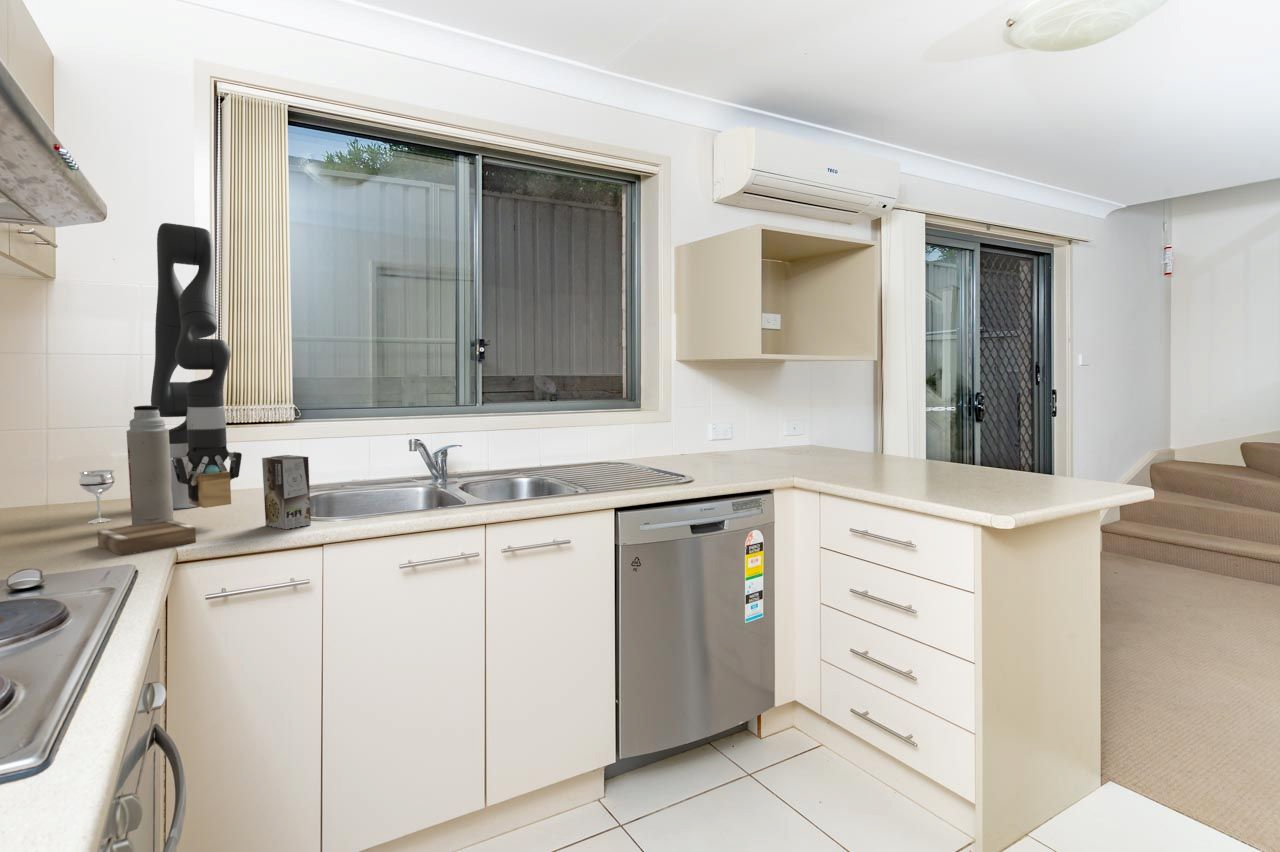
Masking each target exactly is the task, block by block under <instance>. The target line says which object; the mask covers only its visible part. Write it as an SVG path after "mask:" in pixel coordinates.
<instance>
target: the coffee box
mask: <svg viewBox="0 0 1280 852" xmlns="http://www.w3.org/2000/svg"><path fill="white" fill-rule="evenodd" d="M261 461H262V480H263V482H262V484H263V499H264V517H265V526H266V525H268V526H267V527H271V526H272V528H276V527H277V528H276V529H281V528H282V530H291V529H290V528H292V529H296V528H295V527H297V528H301V527H300V526H303V527H307V526H306V525H309V526H311V525H312V522H311V520H312V519H311V518H312V517H311V495H310V492H311V491H310V489H311V488H310V468H309V467H310V465H309V456H304V455H303V456H302V455H292V454H291V455H289V454H285V455H284V454H283V455H275V456H269V457H261Z"/></svg>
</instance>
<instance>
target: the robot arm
mask: <svg viewBox="0 0 1280 852" xmlns="http://www.w3.org/2000/svg"><path fill="white" fill-rule="evenodd" d="M156 234H157V235H156V236H157V237H156V252H157V253H156V255H157V257H156V258H157V261H156V262H157V297H156V298H157V299H156V308H155V309H156V311H155V312H156V313H155V327H154V330H155V332H154V333H155V334H154V335H155V339H154V340H155V341H154V342H155V343H154V344H155V345H154V346H155V347H154V348H155V350H154V351H155V352H154V353H155V354H154V355H155V357H154V368H153V377H152V384H151V395H150V404H151V405H152V406H160V409H159V412H160V418H179V417H180V418H181V417H182V418H183V417H185V419H184V421H183V422H182V423H181V424H179V425H178V426H175V427H173V428H171V429H168V430H169V445H170V463H171V490H172V500H173V510H175V509H177V510H178V509H189V508H195V507H197V506H196V505H193V504H189V499H191V500H192V501H193V502H198V500H199V499H198V485H196V484H197V482H198V474H202V473H203V471H204V470H205V469H206V467H207V466H209V465H216V466H217V467H218V468H219V470H220V471H228V472H230V482H231V481H232V480H234V479H237V478H239V476H240V470H241V464H242V456H243V454H242V453H241V452H238V451H233V452H230V451H229V450H228V449H227V448H228V447H227V443H228V442H227V420H226V411H225V406H224V385H225V384H224V383H225V379H226V373H227V370H228V367H229V365H230V360H231V355H232V354H231V348H230V346H229V344H228V343H227V342H226V341H225V340H223V339H221V338H219V339H217V338H208V337H210V336H213V335H215V333H216V332H217V330H218V323H217V322H218V321H217V316H216V315H217V314H216V310H215V301H214V299H215V298H214V281H215V277H214V276H215V267H214V266H215V265H214V264H215V262H214V261H215V258H214V256H215V255H214V254H215V253H214V242H213V241H214V240H213V237H212V235H211V233H210V231H209V230H208V229H206V228H202V227H199V226H198V227H197V226H193V225H192V226H191V225H185V224H177V223H171V222H164V223H163V222H162V223H161V224H160V225H159V227H158V230H157V233H156ZM174 264H177V265H178V264H179V265H188V266H189V265H190V266H197V267H198V268H197V273H196V275H195V276H194V277H193V279H192V280H191V281H190V283H188V284H187V286H186V287H184V288H183V286H182V285H181V283H180V281H179V280H178V278H177V275H176V272H175V270H174V269H175V268H174ZM178 366H179V367H181V368H182V369H183V370H189V371H191V370H192V371H193V370H198V371H199V370H200V371H202V370H206V371H210V370H212V373H211V374H210V375H209V376H208V377H206V378H202V379H197V380H191V381H188V382H187V381H177V382H176V381H171V379H172V377H173V375H174V372H175V371H176V369H177V367H178ZM227 459H228V460H229V461H230V462H229V463H230V465H229V470H228V468H227V467H226V465H225V462H226V460H227ZM188 471H190V475H189V477H188Z"/></svg>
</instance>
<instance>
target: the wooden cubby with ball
mask: <svg viewBox="0 0 1280 852" xmlns="http://www.w3.org/2000/svg"><path fill="white" fill-rule="evenodd" d="M189 475H190V471H188V477H189ZM196 485H198V499H199V500H198V502H193V501H192V500H191V499H189V504H193V505H196V507H200V508H203V509H206V508H214V507H215V508H216V507H219V506H220V507H221V506H227V505H232V491H231V489H232V488H231V481H230V472H229V470H227V471H220V472H219V473H211V474H203V473H202V474H198V482H197V484H196Z"/></svg>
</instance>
